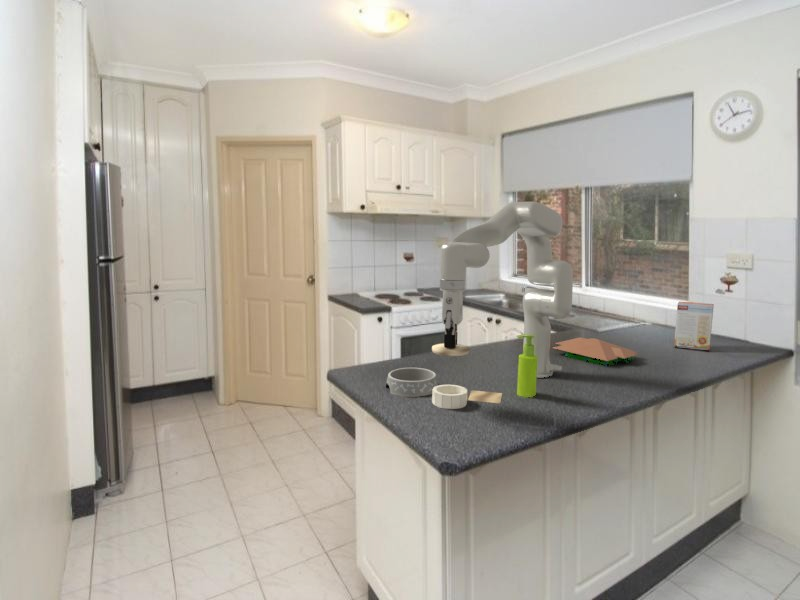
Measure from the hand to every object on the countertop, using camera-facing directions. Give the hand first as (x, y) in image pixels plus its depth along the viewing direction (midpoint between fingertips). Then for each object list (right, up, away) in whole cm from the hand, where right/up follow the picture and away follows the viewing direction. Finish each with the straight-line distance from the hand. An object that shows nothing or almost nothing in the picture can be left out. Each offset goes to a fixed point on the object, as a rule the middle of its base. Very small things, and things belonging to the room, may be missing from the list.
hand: (450, 345), depth 155 cm
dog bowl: (-11, -16, +18) cm, 27 cm away
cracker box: (+117, -9, +78) cm, 141 cm away
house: (+66, -11, +63) cm, 92 cm away
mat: (+12, -17, +9) cm, 23 cm away
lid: (0, -2, 0) cm, 2 cm away
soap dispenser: (+25, -17, +12) cm, 33 cm away
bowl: (0, -18, +3) cm, 18 cm away
